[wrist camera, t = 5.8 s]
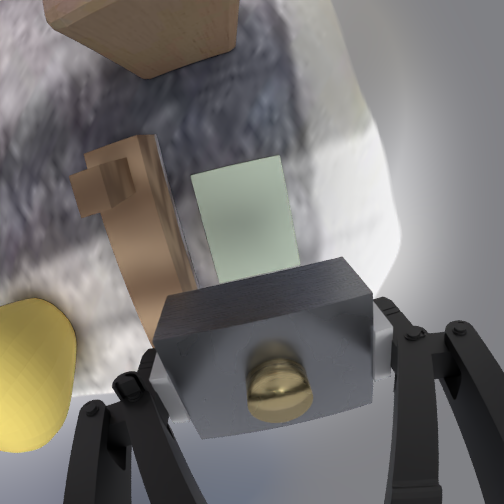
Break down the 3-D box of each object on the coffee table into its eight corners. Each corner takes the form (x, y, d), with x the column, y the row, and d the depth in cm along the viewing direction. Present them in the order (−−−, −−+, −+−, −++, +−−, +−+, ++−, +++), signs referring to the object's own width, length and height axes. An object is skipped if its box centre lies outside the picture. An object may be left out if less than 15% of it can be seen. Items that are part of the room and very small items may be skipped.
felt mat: (191, 174, 32) (190, 175, 31) (278, 154, 32) (279, 155, 31) (219, 281, 36) (219, 283, 36) (299, 262, 36) (300, 265, 35)
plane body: (110, 149, 30) (47, 161, 18) (156, 134, 30) (112, 135, 18) (180, 355, 39) (167, 433, 27) (219, 348, 39) (218, 428, 27)
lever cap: (167, 295, 14) (145, 361, 10) (342, 256, 14) (386, 309, 10) (204, 389, 16) (201, 459, 12) (350, 358, 16) (380, 420, 12)
